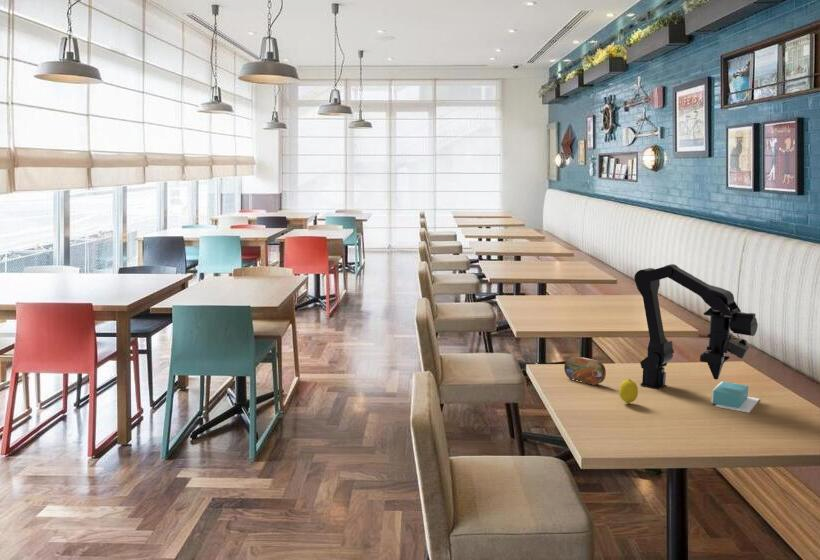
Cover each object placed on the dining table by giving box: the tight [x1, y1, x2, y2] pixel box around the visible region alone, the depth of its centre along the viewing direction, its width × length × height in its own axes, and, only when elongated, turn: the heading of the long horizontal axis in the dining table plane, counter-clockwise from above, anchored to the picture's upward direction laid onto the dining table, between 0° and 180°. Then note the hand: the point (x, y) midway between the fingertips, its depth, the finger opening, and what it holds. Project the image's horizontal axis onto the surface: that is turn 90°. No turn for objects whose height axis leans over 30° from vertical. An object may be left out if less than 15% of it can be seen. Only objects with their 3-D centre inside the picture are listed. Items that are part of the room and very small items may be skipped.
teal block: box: [710, 381, 749, 408], centre depth 224 cm, size 4×12×8 cm
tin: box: [563, 355, 607, 386], centre depth 244 cm, size 15×3×8 cm, turn 44°
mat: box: [715, 396, 760, 414], centre depth 223 cm, size 10×15×1 cm, turn 144°
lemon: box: [618, 378, 639, 405], centre depth 221 cm, size 6×6×8 cm
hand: (716, 379), depth 225 cm, fingers closed
